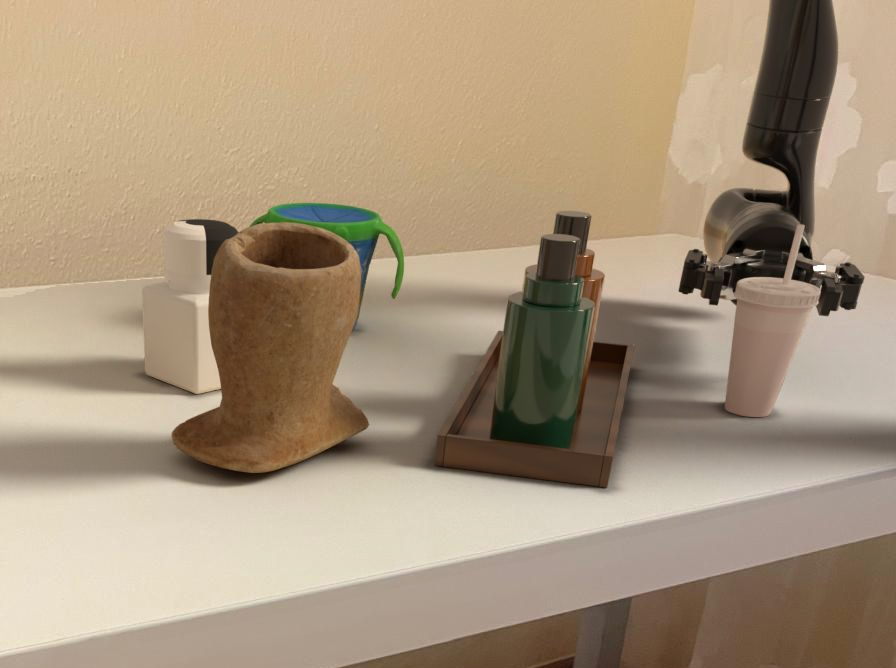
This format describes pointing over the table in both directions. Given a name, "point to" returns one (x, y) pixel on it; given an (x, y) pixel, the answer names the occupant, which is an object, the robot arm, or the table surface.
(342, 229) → the snack cup
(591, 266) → the amber bottle
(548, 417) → the green bottle
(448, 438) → the tray
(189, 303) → the medicine bottle
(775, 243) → the robot arm
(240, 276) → the stone cup
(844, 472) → the table surface
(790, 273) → the smoothie
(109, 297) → the table surface
